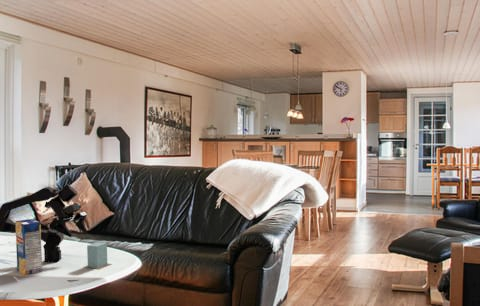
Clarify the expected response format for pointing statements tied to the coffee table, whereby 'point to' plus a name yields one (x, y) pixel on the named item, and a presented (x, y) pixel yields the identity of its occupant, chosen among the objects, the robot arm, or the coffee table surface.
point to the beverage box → (28, 246)
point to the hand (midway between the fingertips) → (78, 234)
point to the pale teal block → (97, 255)
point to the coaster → (98, 268)
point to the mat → (72, 280)
